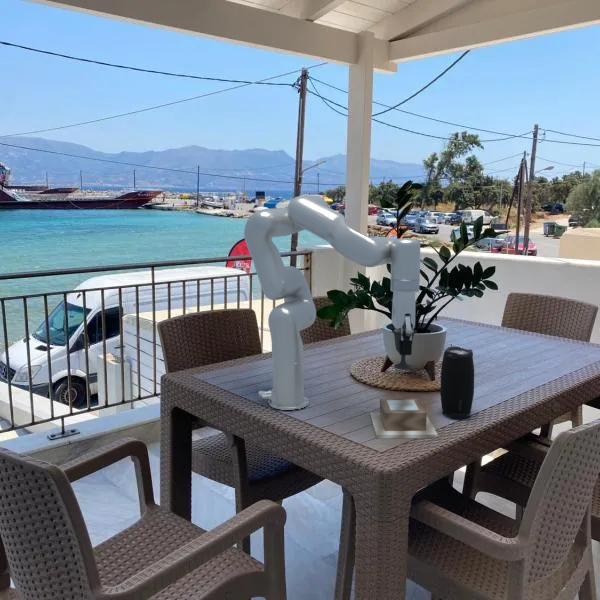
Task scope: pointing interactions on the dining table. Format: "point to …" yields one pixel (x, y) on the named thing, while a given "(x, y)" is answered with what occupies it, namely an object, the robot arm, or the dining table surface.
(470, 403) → the portable speaker
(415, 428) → the pedestal
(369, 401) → the dining table surface
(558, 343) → the dining table surface
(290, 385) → the robot arm
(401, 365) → the sundae
